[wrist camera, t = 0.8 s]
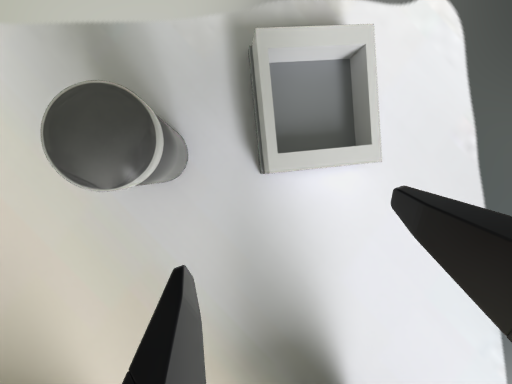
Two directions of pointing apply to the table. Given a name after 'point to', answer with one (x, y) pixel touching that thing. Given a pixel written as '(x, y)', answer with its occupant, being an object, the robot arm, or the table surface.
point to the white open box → (315, 96)
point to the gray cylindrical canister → (109, 139)
